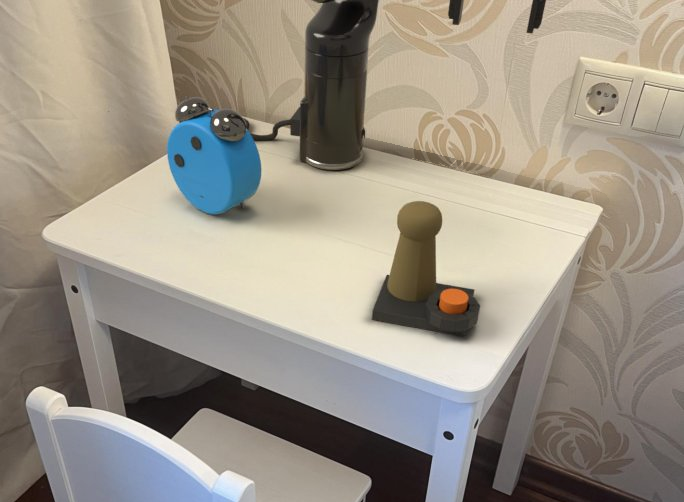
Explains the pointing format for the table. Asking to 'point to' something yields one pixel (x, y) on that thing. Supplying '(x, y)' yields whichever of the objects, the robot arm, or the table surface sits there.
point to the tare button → (453, 301)
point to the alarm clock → (213, 157)
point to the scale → (426, 311)
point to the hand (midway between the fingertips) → (492, 27)
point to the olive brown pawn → (415, 252)
